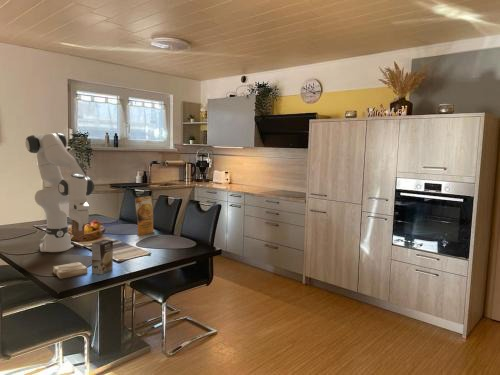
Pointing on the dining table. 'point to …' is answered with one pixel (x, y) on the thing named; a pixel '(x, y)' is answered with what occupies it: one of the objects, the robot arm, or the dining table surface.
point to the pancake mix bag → (144, 215)
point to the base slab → (69, 270)
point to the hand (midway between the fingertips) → (78, 229)
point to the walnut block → (76, 229)
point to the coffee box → (102, 256)
